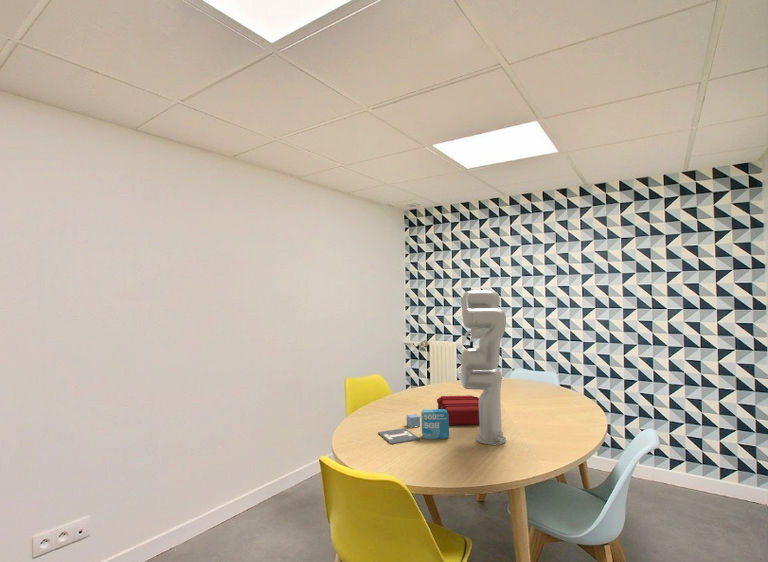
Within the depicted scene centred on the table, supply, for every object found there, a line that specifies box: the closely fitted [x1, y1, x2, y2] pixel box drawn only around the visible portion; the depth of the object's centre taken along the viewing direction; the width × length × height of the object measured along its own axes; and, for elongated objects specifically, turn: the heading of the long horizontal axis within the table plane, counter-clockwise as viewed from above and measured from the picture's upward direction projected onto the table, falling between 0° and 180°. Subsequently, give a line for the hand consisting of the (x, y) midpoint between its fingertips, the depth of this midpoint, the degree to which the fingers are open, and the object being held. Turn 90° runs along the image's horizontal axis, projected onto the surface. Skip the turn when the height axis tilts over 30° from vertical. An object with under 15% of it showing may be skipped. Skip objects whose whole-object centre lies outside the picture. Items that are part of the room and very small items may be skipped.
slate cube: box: [406, 413, 421, 428], centre depth 196 cm, size 5×5×5 cm
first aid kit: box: [436, 395, 479, 426], centre depth 210 cm, size 32×23×9 cm
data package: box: [420, 408, 450, 440], centre depth 179 cm, size 12×4×12 cm, turn 89°
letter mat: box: [377, 427, 420, 445], centre depth 181 cm, size 16×14×1 cm
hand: (481, 349), depth 207 cm, fingers open, 9 cm apart
